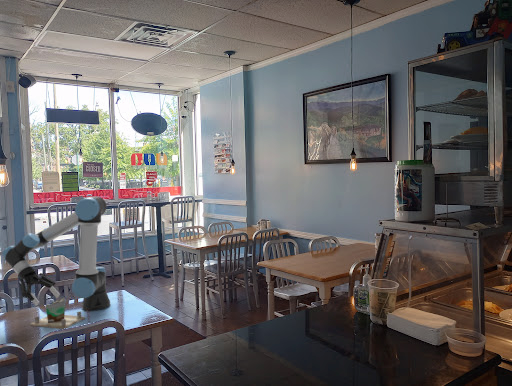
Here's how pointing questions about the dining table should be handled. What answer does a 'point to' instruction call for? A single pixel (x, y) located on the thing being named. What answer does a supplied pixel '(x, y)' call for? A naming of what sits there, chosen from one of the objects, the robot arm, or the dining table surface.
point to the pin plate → (61, 324)
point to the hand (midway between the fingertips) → (48, 300)
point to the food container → (56, 310)
